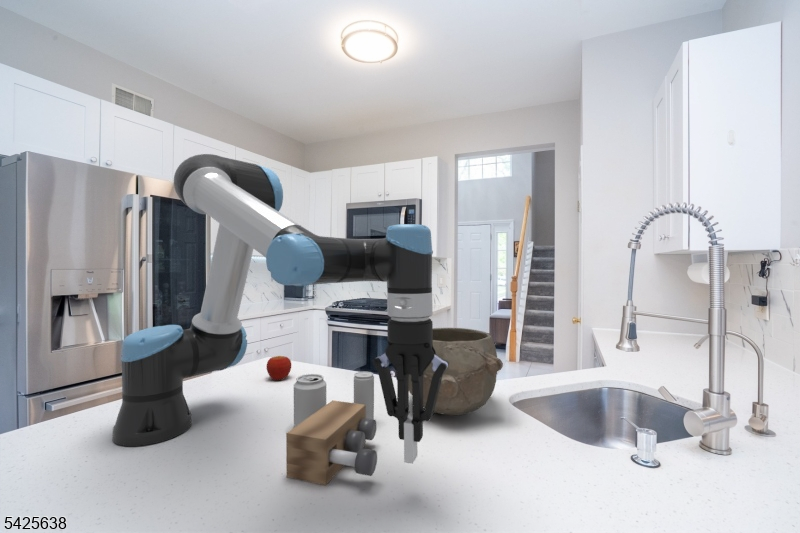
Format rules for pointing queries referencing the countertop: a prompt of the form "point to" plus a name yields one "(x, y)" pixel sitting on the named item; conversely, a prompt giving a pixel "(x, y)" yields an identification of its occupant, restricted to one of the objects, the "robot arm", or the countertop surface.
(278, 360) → the apple
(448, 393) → the bowl
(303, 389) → the can
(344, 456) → the knob
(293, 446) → the block
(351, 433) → the knob
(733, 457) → the countertop surface
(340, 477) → the countertop surface
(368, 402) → the beverage can
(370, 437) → the knob
